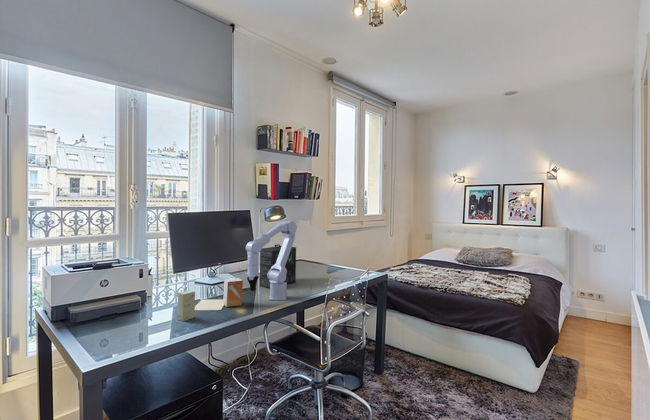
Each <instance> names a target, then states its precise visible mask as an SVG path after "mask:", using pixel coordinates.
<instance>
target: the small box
mask: <svg viewBox="0 0 650 420" xmlns="http://www.w3.org/2000/svg"><path fill="white" fill-rule="evenodd" d="M243 283H244V281H243V279H241V278H240V277H236V278H234V277H233V278H225V279H223V298H222V299H223V304H224V306H225V307H226V308H229V307H235V306H236V307H237V306H242V304H243V303H242V302H243V286H244V285H243Z"/></svg>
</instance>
